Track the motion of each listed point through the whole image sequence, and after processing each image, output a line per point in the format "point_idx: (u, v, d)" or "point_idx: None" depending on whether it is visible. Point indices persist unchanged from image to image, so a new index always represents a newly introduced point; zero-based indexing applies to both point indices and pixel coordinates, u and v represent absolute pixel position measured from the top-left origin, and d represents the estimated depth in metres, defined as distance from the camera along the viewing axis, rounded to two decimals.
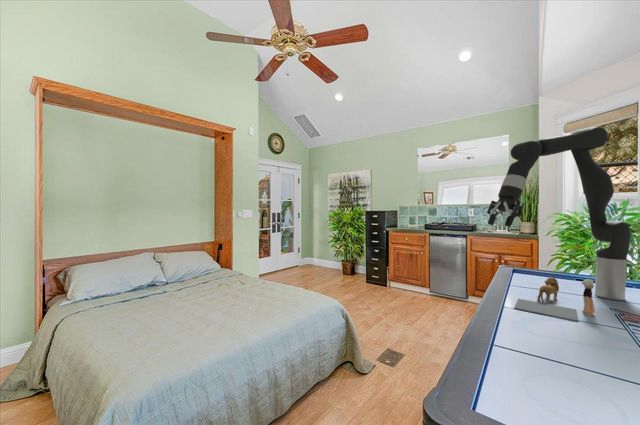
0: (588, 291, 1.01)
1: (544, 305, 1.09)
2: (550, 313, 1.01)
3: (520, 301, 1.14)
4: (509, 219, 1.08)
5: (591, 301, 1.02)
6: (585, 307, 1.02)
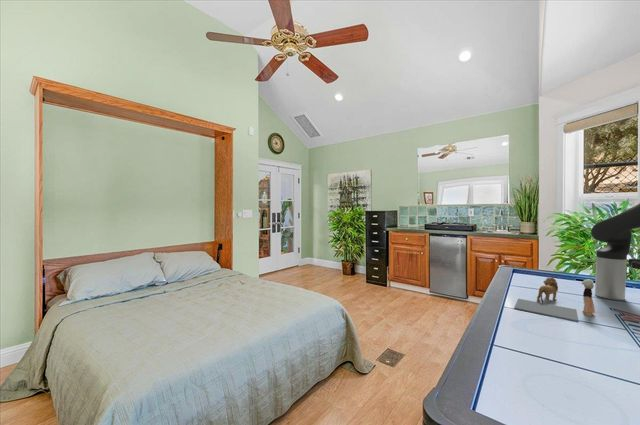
0: (588, 291, 1.01)
1: (544, 305, 1.09)
2: (550, 313, 1.01)
3: (520, 301, 1.14)
4: None
5: (591, 301, 1.02)
6: (585, 307, 1.02)
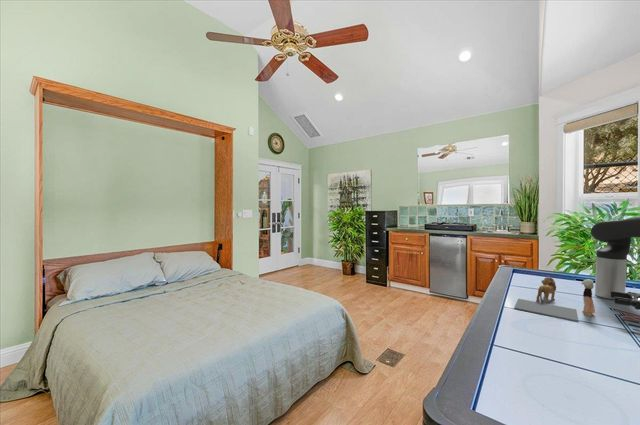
0: (588, 291, 1.01)
1: (544, 305, 1.09)
2: (550, 313, 1.01)
3: (520, 301, 1.14)
4: None
5: (591, 301, 1.02)
6: (585, 307, 1.02)
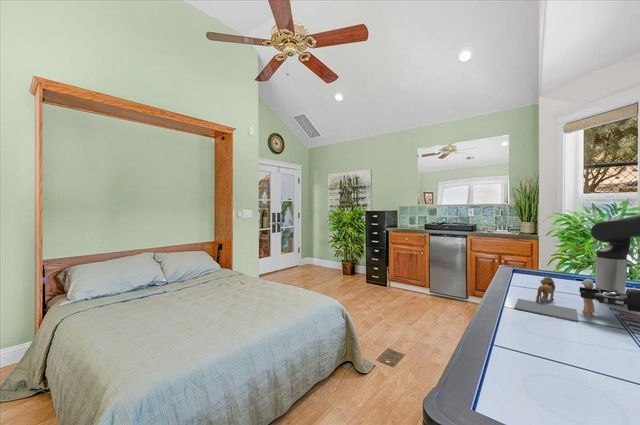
0: (588, 291, 1.01)
1: (544, 305, 1.09)
2: (550, 313, 1.01)
3: (520, 301, 1.14)
4: None
5: (591, 301, 1.02)
6: (585, 307, 1.02)
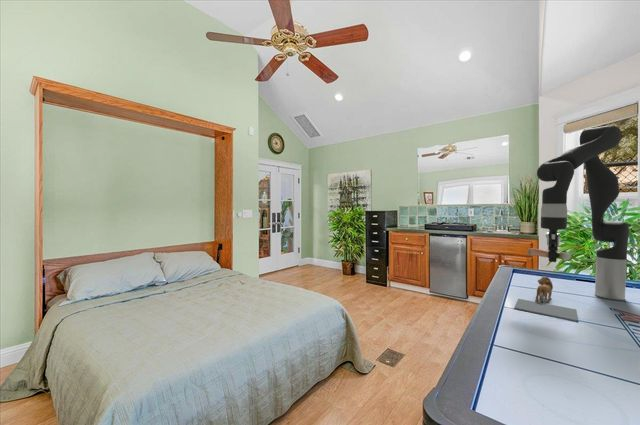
0: None
1: (544, 305, 1.09)
2: (550, 313, 1.01)
3: (520, 301, 1.14)
4: (550, 254, 1.01)
5: None
6: None
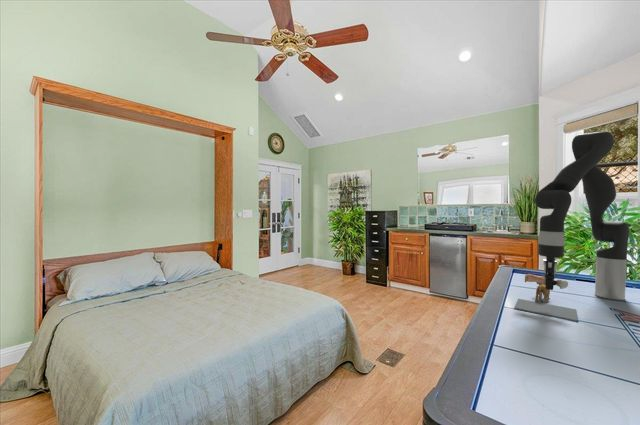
0: None
1: (544, 305, 1.09)
2: (550, 313, 1.01)
3: (520, 301, 1.14)
4: (547, 282, 1.02)
5: None
6: None
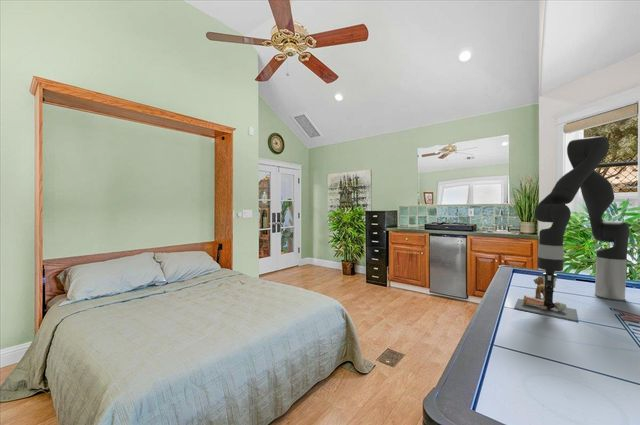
0: None
1: None
2: (550, 313, 1.01)
3: (520, 301, 1.14)
4: (546, 295, 1.02)
5: None
6: None
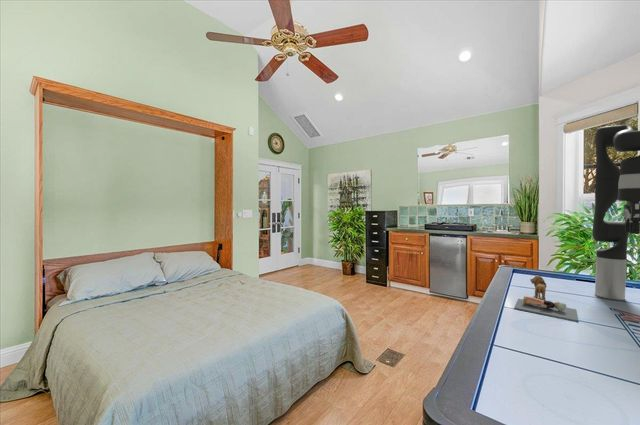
0: None
1: None
2: (550, 313, 1.01)
3: (520, 301, 1.14)
4: (632, 226, 0.96)
5: None
6: None
